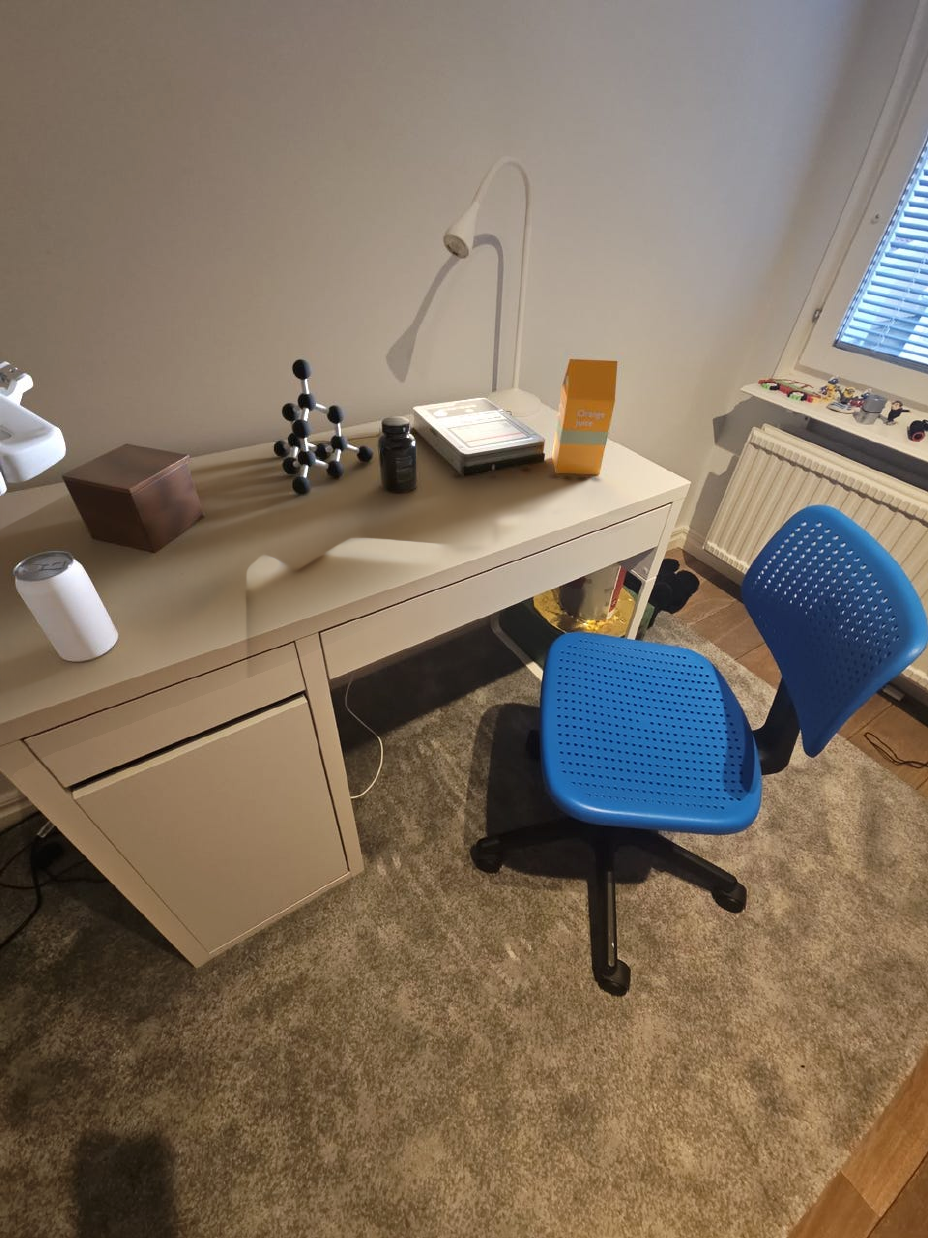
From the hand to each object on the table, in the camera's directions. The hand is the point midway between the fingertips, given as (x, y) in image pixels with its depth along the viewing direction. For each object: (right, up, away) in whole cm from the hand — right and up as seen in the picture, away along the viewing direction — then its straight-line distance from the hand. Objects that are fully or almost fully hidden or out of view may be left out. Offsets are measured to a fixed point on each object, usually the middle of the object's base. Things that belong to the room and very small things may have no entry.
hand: (20, 373), depth 64 cm
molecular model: (+22, 0, +41) cm, 47 cm away
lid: (+3, -7, +17) cm, 18 cm away
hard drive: (+55, +9, +52) cm, 76 cm away
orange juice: (+75, +2, +46) cm, 88 cm away
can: (+7, -33, +2) cm, 33 cm away
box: (+2, -14, +23) cm, 27 cm away
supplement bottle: (+41, -4, +37) cm, 55 cm away
